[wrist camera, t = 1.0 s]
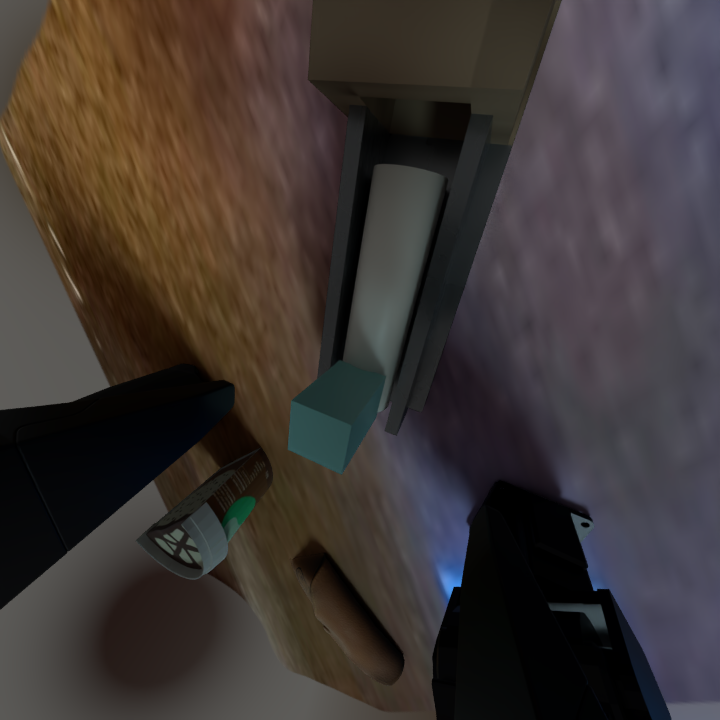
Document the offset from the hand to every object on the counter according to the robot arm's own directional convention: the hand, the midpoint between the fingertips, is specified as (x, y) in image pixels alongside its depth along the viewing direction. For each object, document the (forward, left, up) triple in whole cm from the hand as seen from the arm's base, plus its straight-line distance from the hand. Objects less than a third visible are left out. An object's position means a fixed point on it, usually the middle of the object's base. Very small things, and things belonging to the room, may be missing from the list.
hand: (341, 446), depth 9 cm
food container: (-23, +14, -12) cm, 30 cm away
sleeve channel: (+3, +2, -12) cm, 13 cm away
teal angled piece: (+2, +2, -11) cm, 11 cm away
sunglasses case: (-38, -1, -13) cm, 41 cm away
